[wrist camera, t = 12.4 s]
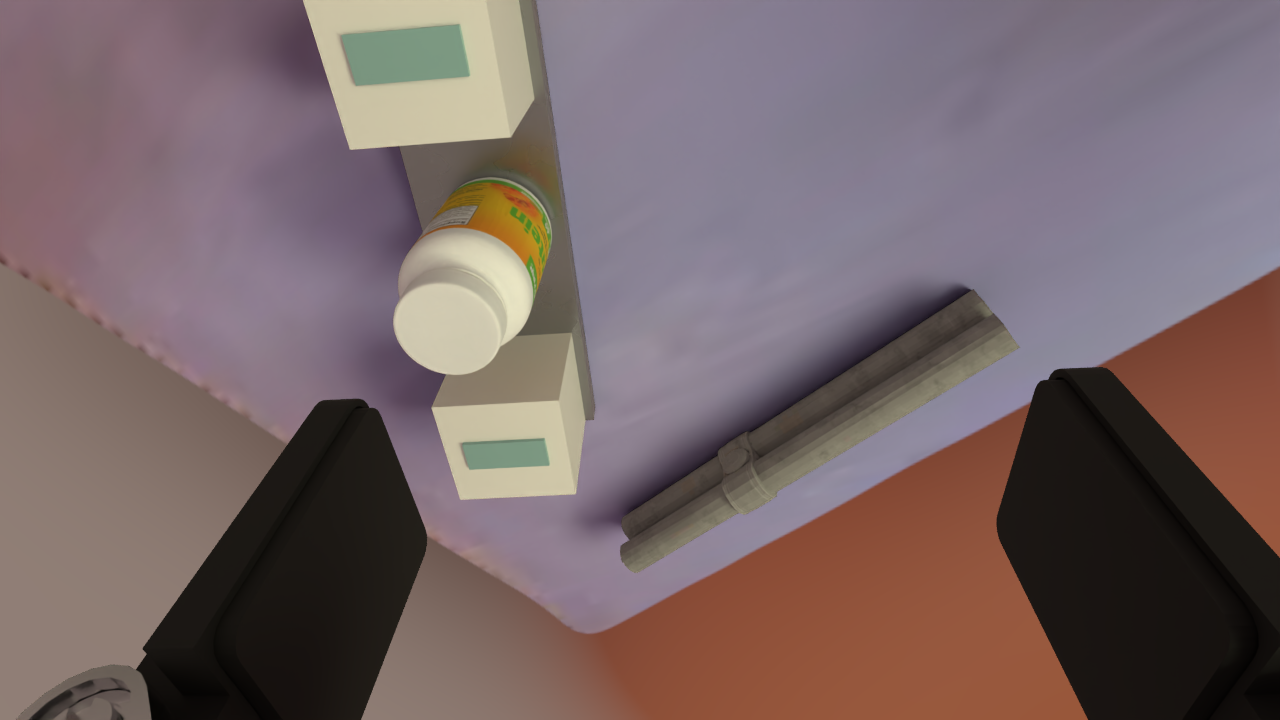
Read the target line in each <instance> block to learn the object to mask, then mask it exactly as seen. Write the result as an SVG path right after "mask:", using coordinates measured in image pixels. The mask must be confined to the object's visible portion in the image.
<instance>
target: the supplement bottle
mask: <svg viewBox="0 0 1280 720" xmlns="http://www.w3.org/2000/svg"><path fill="white" fill-rule="evenodd" d="M551 242H552V230H551V224H550V220H549V217H548V215H547V213H546V211H545V209H544V207H543V205H542V204H541V203H540V201H539V200H538V199H537V198H536V197H535V196H534V195H533V194H532V193H531V192H530V191H529V190H527V189H526V188H524V187H523V186H521V185H519V184H517V183H515V182H513V181H510V180H507V179H503V178H496V177H486V178H479V179H475V180H472V181H469V182H467V183H465V184H463V185H461V186H460V187H458V188H457V189H456V190H455V191H454V192H453V193H452V194H451V195H450V196H449V197H448V199H447V200H446V201H445V202H444V204H443V205H442V207H441V208H440V209H439V211H438V212H437V213H436V215H435V216H434V217H433V219H432V220H431V222H430V223H429V224H428V226H427V227H426V229H425V230H424V231H423V233H422V234H421V236H420V237H419V238H418V240H417V241H416V242H415V244H414V245H413V247H412V248H411V249H410V251H409V252H408V254H407V255H406V257H405V259H404V261H403V263H402V265H401V268H400V272H399V277H398V292H399V297H400V300H399V301H398V303H397V305H396V308H395V311H394V316H393V326H394V331H395V335H396V337H397V340H398V342H399V344H400V345H401V347H402V348H403V350H404V351H405V352H406V353H407V354H408V355H409V356H410V357H411V358H412V359H413V360H414V361H416V362H417V363H418V364H420V365H422V366H424V367H425V368H427V369H430V370H432V371H435V372H438V373H442V374H450V375H462V374H468V373H472V372H475V371H477V370H479V369H481V368H483V367H485V366H486V365H487V364H488V363H490V362H491V361H492V359H493V358H494V357H495V356H496V354H497V352H498V350H499V348H500V346H502V345H504V344H506V343H507V342H509V341H510V340H511V339H513V338H514V337H515V336H516V335H517V334H518V333H519V332H520V331H521V329H522V328H523V326H524V325H525V323H526V321H527V319H528V317H529V314H530V312H531V309H532V306H533V302H534V299H535V295H536V292H537V289H538V286H539V283H540V280H541V277H542V273H543V270H544V267H545V264H546V261H547V258H548V255H549V252H550V248H551Z"/></svg>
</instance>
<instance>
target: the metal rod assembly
mask: <svg viewBox="0 0 1280 720" xmlns="http://www.w3.org/2000/svg"><path fill="white" fill-rule="evenodd" d="M1018 348H1020V347H1019V346H1018V345H1017V344H1016V342H1015V341H1014V339H1013V338H1012V336H1011V335H1010V333H1009V332H1008V330H1007V329H1006V327H1005V326H1004V324H1003V323H1002V322H1001V321H1000V320H999V319H998V318H997V317H996V316H995V314H993V313H992V311H991V310H990V309H989V307H988V306H987V305H986V304H985V302H984V301H983V300H982V299H981V298H980V297H979V296H978V294H977V293H976V292H975V290H974V289H973V290H971V291H970V292H968V293H967V294H965V295H964V296H962V297H961V298H959V299H958V300H956V301H954V302H953V303H951V304H950V305H948V306H947V307H945V308H944V309H942V310H940V311H939V312H937V313H936V314H934V315H933V316H931V317H930V318H928V319H926V320H925V321H923V322H922V323H920V324H919V325H917V326H916V327H914V328H913V329H911V330H909V331H908V332H906V333H905V334H903V335H902V336H900V337H899V338H897V339H895V340H894V341H892V342H891V343H889V344H888V345H886V346H885V347H883V348H881V349H880V350H878V351H877V352H875V353H874V354H872V355H871V356H869V357H867V358H866V359H864V360H863V361H861V362H860V363H858V364H857V365H855V366H854V367H852V368H850V369H849V370H847V371H846V372H844V373H843V374H841V375H840V376H838V377H836V378H835V379H833V380H832V381H830V382H829V383H827V384H826V385H824V386H822V387H821V388H819V389H818V390H816V391H815V392H813V393H812V394H810V395H809V396H807V397H805V398H804V399H802V400H801V401H799V402H798V403H796V404H795V405H793V406H791V407H790V408H788V409H787V410H785V411H784V412H782V413H781V414H779V415H777V416H776V417H774V418H773V419H771V420H770V421H768V422H767V423H765V424H764V425H762V426H760V427H759V428H757V429H756V430H754V431H753V432H749V431H746V432H745V433H743V434H741V435H739V436H738V437H736V438H735V439H733V440H732V441H730V442H729V443H727V444H726V445H725V446H723V447H722V448H720V449H719V451H718V456H716V457H715V458H713V459H711V460H710V461H708V462H707V463H705V464H704V465H702V466H701V467H699V468H698V469H696V470H695V471H693V472H692V473H690V474H689V475H687V476H685V477H684V478H682V479H681V480H679V481H678V482H676V483H675V484H673V485H672V486H670V487H669V488H667V489H666V490H664V491H662V492H661V493H659V494H658V495H656V496H655V497H653V498H652V499H650V500H649V501H647V502H646V503H644V504H643V505H641V506H640V507H638V508H636V509H635V510H633V511H632V512H630V513H629V514H627V515H625V516H624V517H623V518H622V521H621V523H622V529H623V531H624V533H625V535H626V536H627V537H628V539H629V541H627V542H626V543H624V544H622V545H621V548H620V556H621V560H622V562H623V563H624V564H625V566H626V567H627V568H628V569H629V570H630V571H632V572H634V573H638V572H640V571H641V570H643V569H645V568H646V567H648V566H650V565H651V564H653V563H655V562H656V561H658V560H660V559H662V558H663V557H665V556H667V555H668V554H670V553H672V552H673V551H675V550H677V549H678V548H680V547H682V546H683V545H685V544H687V543H688V542H690V541H692V540H693V539H695V538H697V537H698V536H700V535H702V534H703V533H705V532H707V531H708V530H710V529H712V528H714V527H715V526H717V525H719V524H720V523H722V522H724V521H726V520H727V519H729V518H731V517H732V516H734V515H736V514H737V513H741V514H743V515H744V514H748V513H749V512H751V511H753V510H755V509H757V508H759V507H760V506H762V505H764V504H765V503H767V502H769V501H771V500H772V499H773V498H775V497H776V496H777V491H779V490H781V489H782V488H784V487H786V486H787V485H789V484H791V483H792V482H794V481H796V480H798V479H799V478H801V477H803V476H804V475H806V474H808V473H809V472H811V471H813V470H814V469H816V468H818V467H819V466H821V465H823V464H824V463H826V462H828V461H829V460H831V459H833V458H835V457H836V456H838V455H840V454H841V453H843V452H845V451H846V450H848V449H850V448H851V447H853V446H855V445H856V444H858V443H860V442H861V441H863V440H865V439H866V438H868V437H870V436H872V435H873V434H875V433H877V432H878V431H880V430H882V429H883V428H885V427H887V426H888V425H890V424H892V423H893V422H895V421H897V420H898V419H900V418H902V417H903V416H905V415H907V414H909V413H910V412H912V411H914V410H915V409H917V408H919V407H920V406H922V405H924V404H925V403H927V402H929V401H930V400H932V399H934V398H935V397H937V396H939V395H941V394H942V393H944V392H946V391H947V390H949V389H951V388H952V387H954V386H956V385H957V384H959V383H961V382H962V381H964V380H966V379H967V378H969V377H971V376H972V375H974V374H976V373H978V372H979V371H981V370H983V369H984V368H986V367H988V366H989V365H991V364H993V363H994V362H996V361H998V360H999V359H1001V358H1003V357H1004V356H1006V355H1008V354H1009V353H1011V352H1013V351H1015V350H1016V349H1018Z"/></svg>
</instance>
